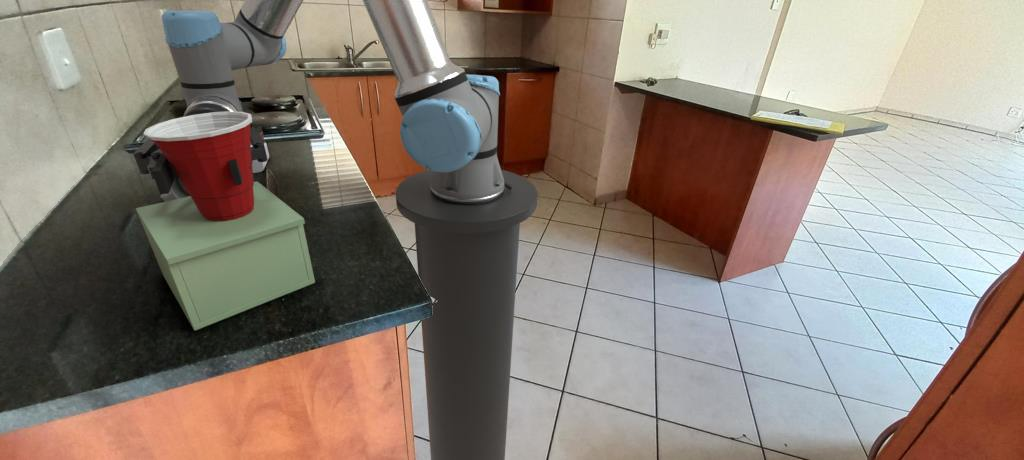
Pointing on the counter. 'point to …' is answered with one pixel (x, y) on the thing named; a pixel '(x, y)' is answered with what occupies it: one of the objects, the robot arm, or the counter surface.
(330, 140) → the counter surface
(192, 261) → the bin
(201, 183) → the plastic cup
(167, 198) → the ceramic mug
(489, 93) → the robot arm
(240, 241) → the bin lid
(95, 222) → the counter surface
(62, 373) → the counter surface
